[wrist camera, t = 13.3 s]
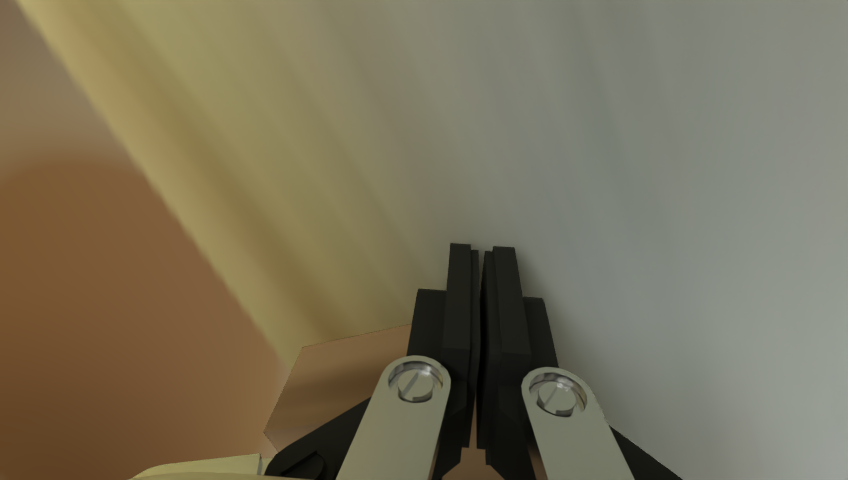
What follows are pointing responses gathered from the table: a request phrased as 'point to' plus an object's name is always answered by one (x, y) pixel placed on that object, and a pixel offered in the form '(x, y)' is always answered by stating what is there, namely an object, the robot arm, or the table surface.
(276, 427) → the brown rounded block
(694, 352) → the table surface
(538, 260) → the table surface
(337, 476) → the robot arm
